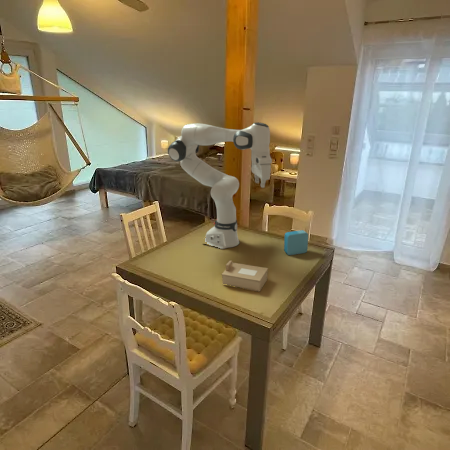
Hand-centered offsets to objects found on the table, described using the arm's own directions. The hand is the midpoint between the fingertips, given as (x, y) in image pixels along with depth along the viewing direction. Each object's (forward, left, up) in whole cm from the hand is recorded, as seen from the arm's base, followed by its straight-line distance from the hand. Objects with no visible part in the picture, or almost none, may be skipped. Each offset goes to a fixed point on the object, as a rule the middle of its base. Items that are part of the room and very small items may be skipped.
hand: (259, 184), depth 176 cm
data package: (+17, +12, -40) cm, 45 cm away
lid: (+2, -28, -35) cm, 45 cm away
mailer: (+2, -28, -40) cm, 49 cm away
